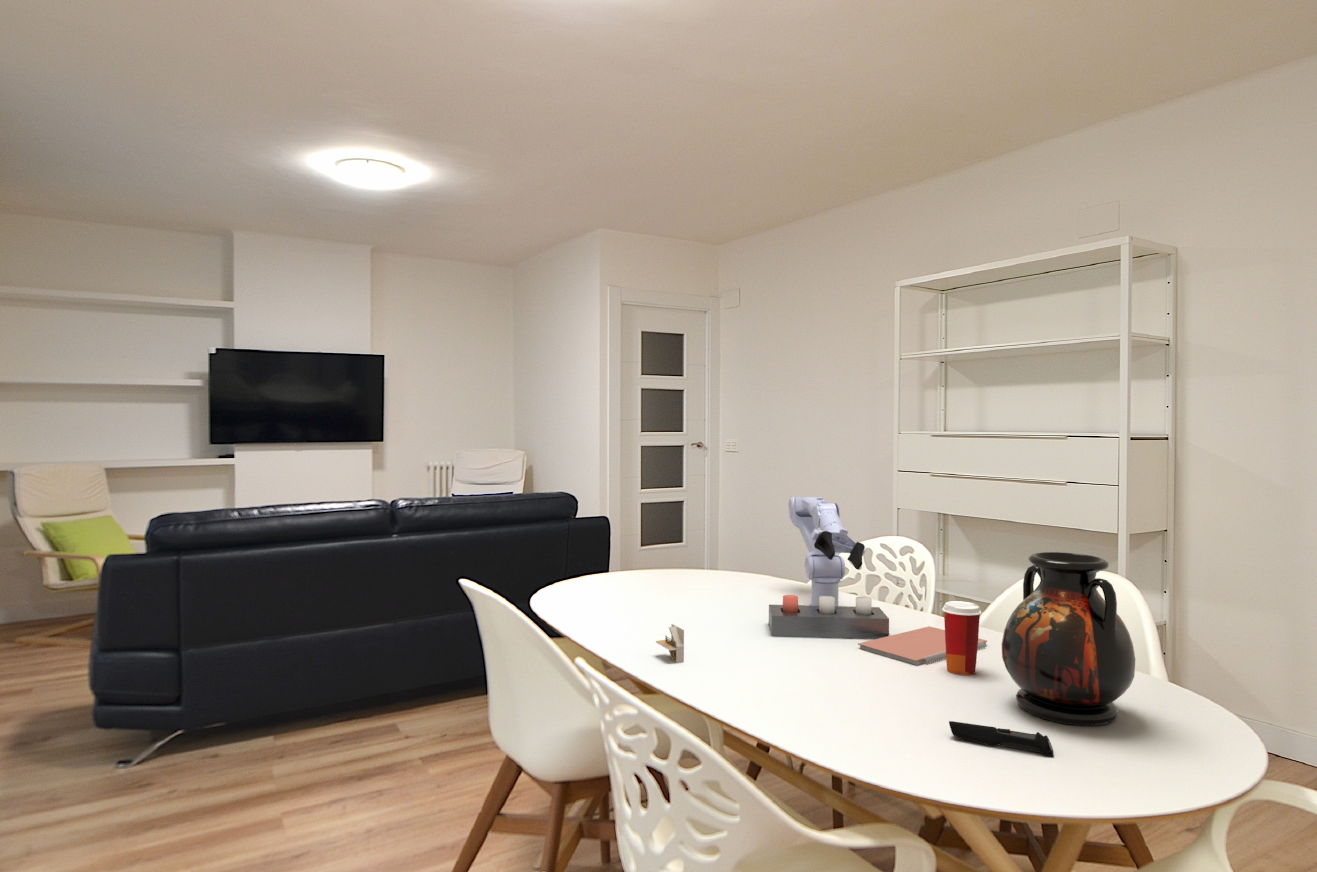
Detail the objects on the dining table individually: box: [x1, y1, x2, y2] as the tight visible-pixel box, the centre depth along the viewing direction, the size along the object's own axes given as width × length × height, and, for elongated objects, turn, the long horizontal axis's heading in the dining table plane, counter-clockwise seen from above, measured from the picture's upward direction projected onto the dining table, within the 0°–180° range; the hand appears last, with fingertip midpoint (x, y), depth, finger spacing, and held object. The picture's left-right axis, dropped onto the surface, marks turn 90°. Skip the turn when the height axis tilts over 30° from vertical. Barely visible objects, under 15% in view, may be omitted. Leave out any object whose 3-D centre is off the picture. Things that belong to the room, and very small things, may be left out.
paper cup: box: [941, 600, 982, 676], centre depth 165 cm, size 8×8×14 cm
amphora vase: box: [1001, 551, 1136, 727], centre depth 142 cm, size 22×22×28 cm
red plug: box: [782, 594, 799, 613], centre depth 197 cm, size 4×4×5 cm
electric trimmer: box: [948, 720, 1055, 757], centre depth 127 cm, size 4×16×3 cm, turn 65°
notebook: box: [857, 625, 988, 666], centre depth 183 cm, size 27×17×2 cm, turn 126°
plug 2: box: [855, 596, 873, 615], centre depth 195 cm, size 4×4×5 cm
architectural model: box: [655, 623, 685, 664], centre depth 173 cm, size 3×7×7 cm, turn 27°
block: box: [768, 604, 890, 640], centre depth 196 cm, size 12×28×5 cm, turn 85°
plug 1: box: [819, 596, 835, 614], centre depth 196 cm, size 4×4×5 cm
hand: (845, 561), depth 194 cm, fingers open, 7 cm apart
